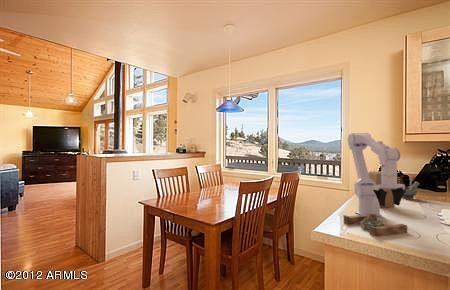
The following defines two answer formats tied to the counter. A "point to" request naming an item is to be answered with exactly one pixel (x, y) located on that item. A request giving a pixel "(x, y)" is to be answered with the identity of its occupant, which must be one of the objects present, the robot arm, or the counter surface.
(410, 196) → the mortar and pestle
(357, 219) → the chute
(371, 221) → the egg carton
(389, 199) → the wooden block
